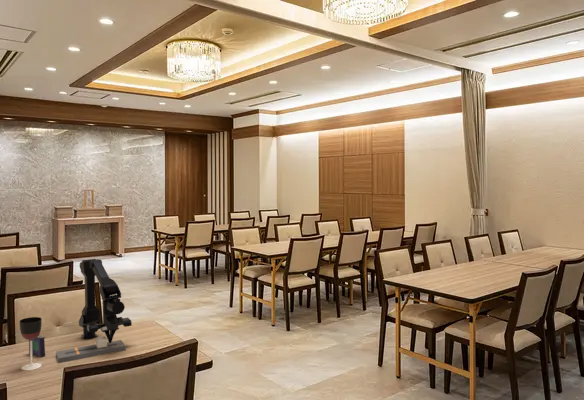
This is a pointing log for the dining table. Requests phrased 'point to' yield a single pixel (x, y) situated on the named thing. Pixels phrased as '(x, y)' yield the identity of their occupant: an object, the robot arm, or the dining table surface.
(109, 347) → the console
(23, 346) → the dining table surface
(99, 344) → the fader tab
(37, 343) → the flask
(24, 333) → the wineglass
